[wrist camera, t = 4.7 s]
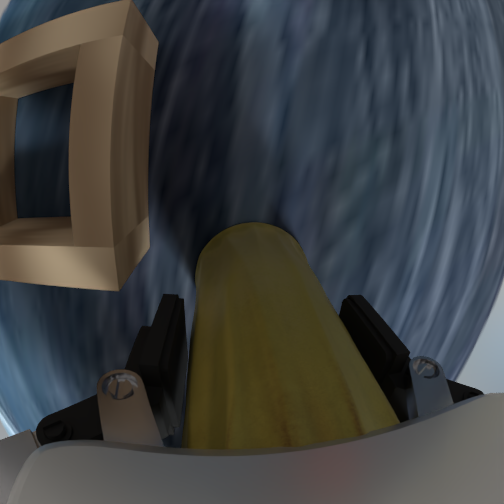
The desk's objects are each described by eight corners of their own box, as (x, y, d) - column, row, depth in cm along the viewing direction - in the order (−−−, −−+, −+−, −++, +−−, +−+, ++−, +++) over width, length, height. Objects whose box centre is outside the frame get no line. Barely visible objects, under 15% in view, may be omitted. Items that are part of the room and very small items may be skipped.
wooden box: (158, 42, 11) (129, -5, 6) (149, 247, 14) (116, 294, 9) (5, 80, 9) (-49, 72, 4) (5, 244, 13) (-45, 275, 8)
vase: (200, 324, 16) (188, 585, 3) (191, 222, 14) (87, 575, 1) (301, 319, 17) (397, 551, 3) (310, 220, 15) (538, 459, 1)
